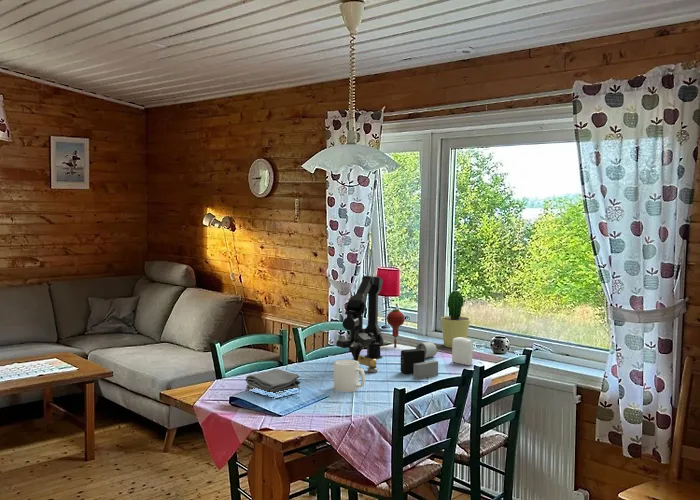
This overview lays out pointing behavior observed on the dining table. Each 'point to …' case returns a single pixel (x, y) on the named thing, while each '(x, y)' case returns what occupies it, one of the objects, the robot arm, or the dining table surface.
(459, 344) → the white rounded block
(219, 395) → the dining table surface
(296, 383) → the towel
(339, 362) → the mug
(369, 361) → the gold bone
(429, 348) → the ceramic mug
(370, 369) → the grey round base
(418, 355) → the electronic device
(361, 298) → the robot arm
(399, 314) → the lantern
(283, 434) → the dining table surface
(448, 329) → the potted cactus
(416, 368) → the socket block
